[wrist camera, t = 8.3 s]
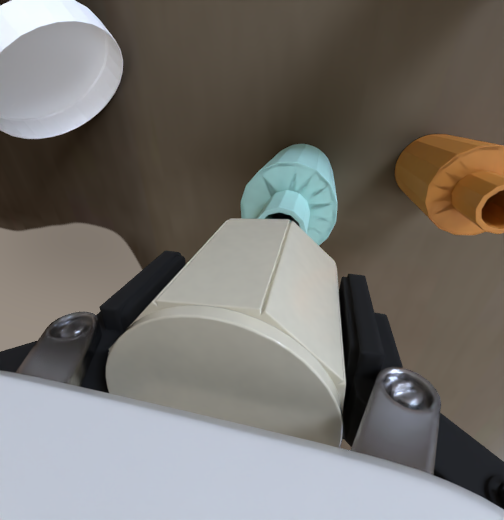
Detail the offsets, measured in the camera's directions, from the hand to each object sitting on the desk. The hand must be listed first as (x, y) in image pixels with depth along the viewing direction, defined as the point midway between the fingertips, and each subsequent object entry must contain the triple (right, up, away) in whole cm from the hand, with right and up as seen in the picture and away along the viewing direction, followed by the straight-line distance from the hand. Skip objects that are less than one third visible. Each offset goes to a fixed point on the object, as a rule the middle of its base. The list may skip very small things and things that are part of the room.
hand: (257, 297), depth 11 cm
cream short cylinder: (0, 0, +1) cm, 1 cm away
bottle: (+5, +10, +19) cm, 22 cm away
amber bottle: (+16, +10, +16) cm, 25 cm away
